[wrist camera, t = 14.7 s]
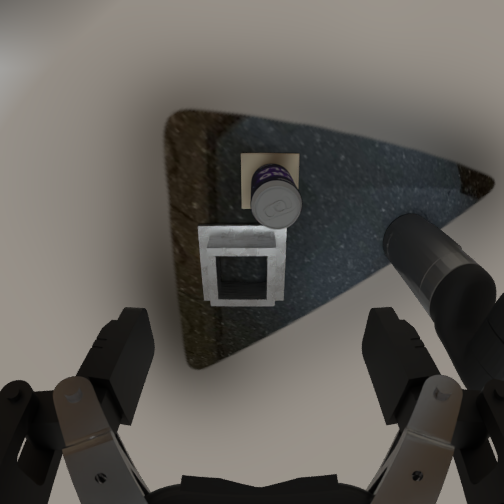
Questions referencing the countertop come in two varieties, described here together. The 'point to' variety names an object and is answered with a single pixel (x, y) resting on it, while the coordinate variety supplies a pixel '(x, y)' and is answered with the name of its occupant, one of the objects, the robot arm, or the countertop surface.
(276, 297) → the sleeve
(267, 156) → the birch pad
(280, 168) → the beverage can
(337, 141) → the countertop surface
